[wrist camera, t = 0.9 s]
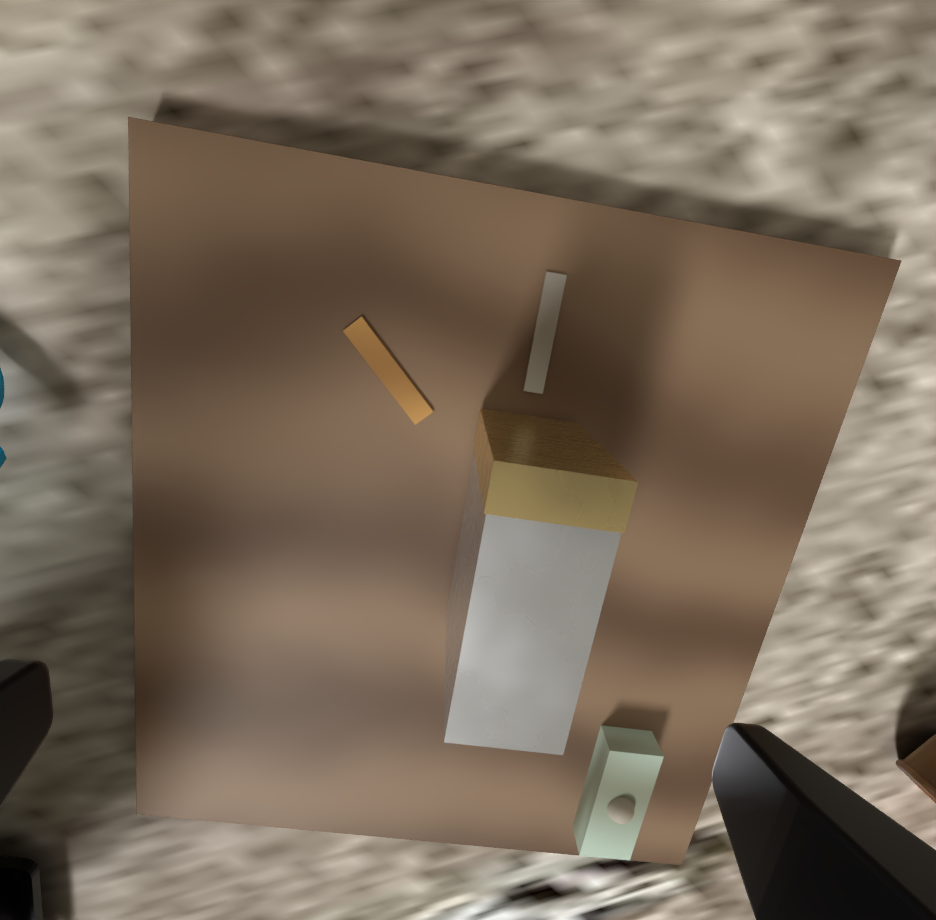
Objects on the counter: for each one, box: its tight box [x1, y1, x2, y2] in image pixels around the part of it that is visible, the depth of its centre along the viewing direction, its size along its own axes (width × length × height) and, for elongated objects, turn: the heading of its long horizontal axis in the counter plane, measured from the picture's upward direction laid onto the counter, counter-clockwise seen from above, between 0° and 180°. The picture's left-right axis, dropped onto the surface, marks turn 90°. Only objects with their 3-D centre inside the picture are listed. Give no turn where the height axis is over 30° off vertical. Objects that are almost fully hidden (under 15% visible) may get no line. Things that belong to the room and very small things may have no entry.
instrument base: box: [128, 117, 901, 865], centre depth 18 cm, size 24×22×3 cm
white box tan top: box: [444, 408, 638, 755], centre depth 15 cm, size 7×3×6 cm, turn 171°
